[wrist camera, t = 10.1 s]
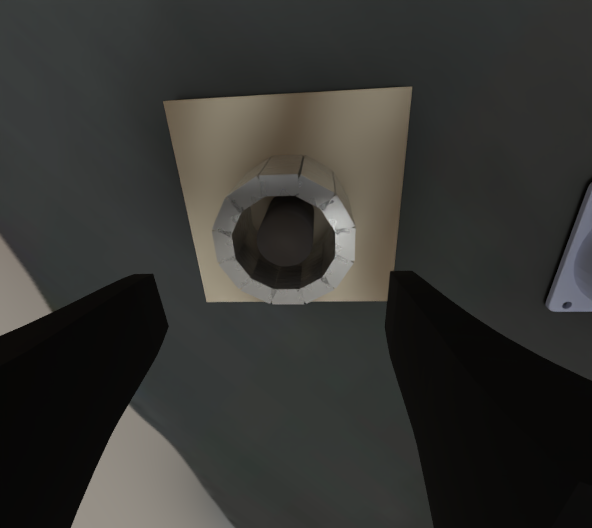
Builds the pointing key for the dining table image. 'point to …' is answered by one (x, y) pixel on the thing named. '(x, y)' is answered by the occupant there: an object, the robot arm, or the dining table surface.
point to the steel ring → (243, 235)
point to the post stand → (290, 209)
